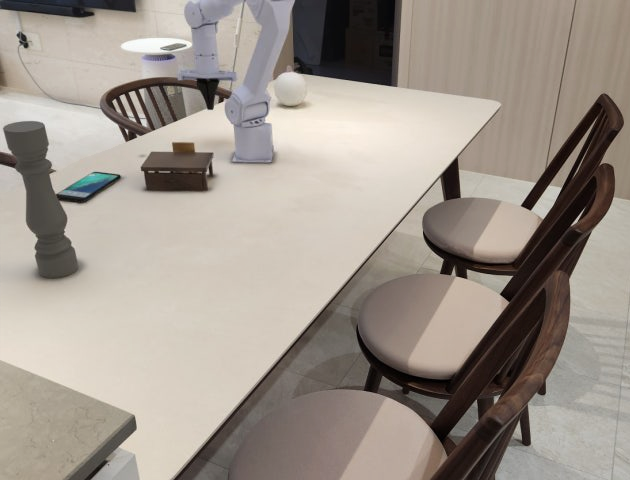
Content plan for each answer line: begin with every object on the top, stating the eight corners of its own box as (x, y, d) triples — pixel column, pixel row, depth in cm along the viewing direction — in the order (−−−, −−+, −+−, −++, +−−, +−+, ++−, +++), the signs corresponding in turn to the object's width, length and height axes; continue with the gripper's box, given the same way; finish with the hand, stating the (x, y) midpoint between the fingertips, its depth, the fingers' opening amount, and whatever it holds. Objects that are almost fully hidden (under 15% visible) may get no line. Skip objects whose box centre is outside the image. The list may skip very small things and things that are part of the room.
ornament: (279, 99, 207) (278, 61, 201) (310, 102, 206) (309, 64, 200) (271, 108, 199) (269, 68, 192) (303, 110, 198) (302, 71, 191)
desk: (215, 174, 149) (213, 152, 146) (208, 191, 141) (206, 167, 138) (154, 174, 148) (151, 151, 145) (144, 190, 140) (140, 167, 137)
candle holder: (46, 260, 111) (10, 120, 99) (83, 260, 112) (52, 120, 99) (33, 278, 106) (-7, 132, 93) (72, 278, 107) (37, 132, 94)
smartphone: (52, 195, 133) (94, 171, 146) (53, 199, 134) (94, 174, 146) (82, 199, 132) (122, 174, 145) (83, 203, 133) (122, 177, 145)
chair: (197, 170, 151) (194, 142, 147) (193, 180, 145) (189, 150, 142) (176, 170, 150) (172, 141, 147) (170, 179, 145) (166, 150, 142)
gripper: (237, 51, 160) (240, 105, 167) (178, 49, 159) (184, 104, 166) (234, 57, 154) (237, 112, 161) (173, 55, 153) (179, 111, 160)
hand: (210, 108), depth 163 cm, fingers closed
